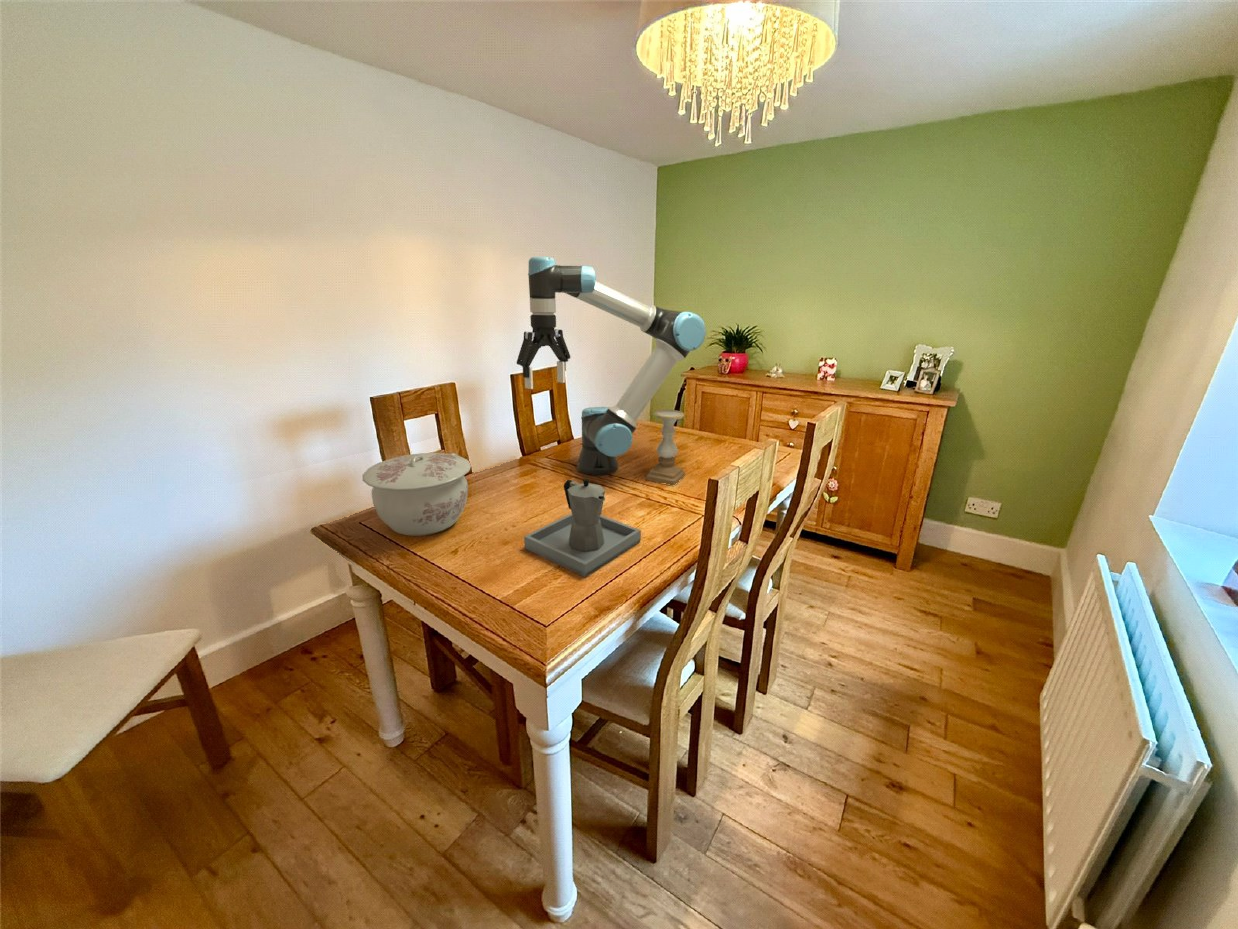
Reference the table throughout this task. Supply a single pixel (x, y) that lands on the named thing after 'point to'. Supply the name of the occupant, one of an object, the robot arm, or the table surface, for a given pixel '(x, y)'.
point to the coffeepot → (585, 514)
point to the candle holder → (667, 451)
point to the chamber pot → (419, 491)
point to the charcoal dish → (558, 550)
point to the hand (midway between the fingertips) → (545, 385)
